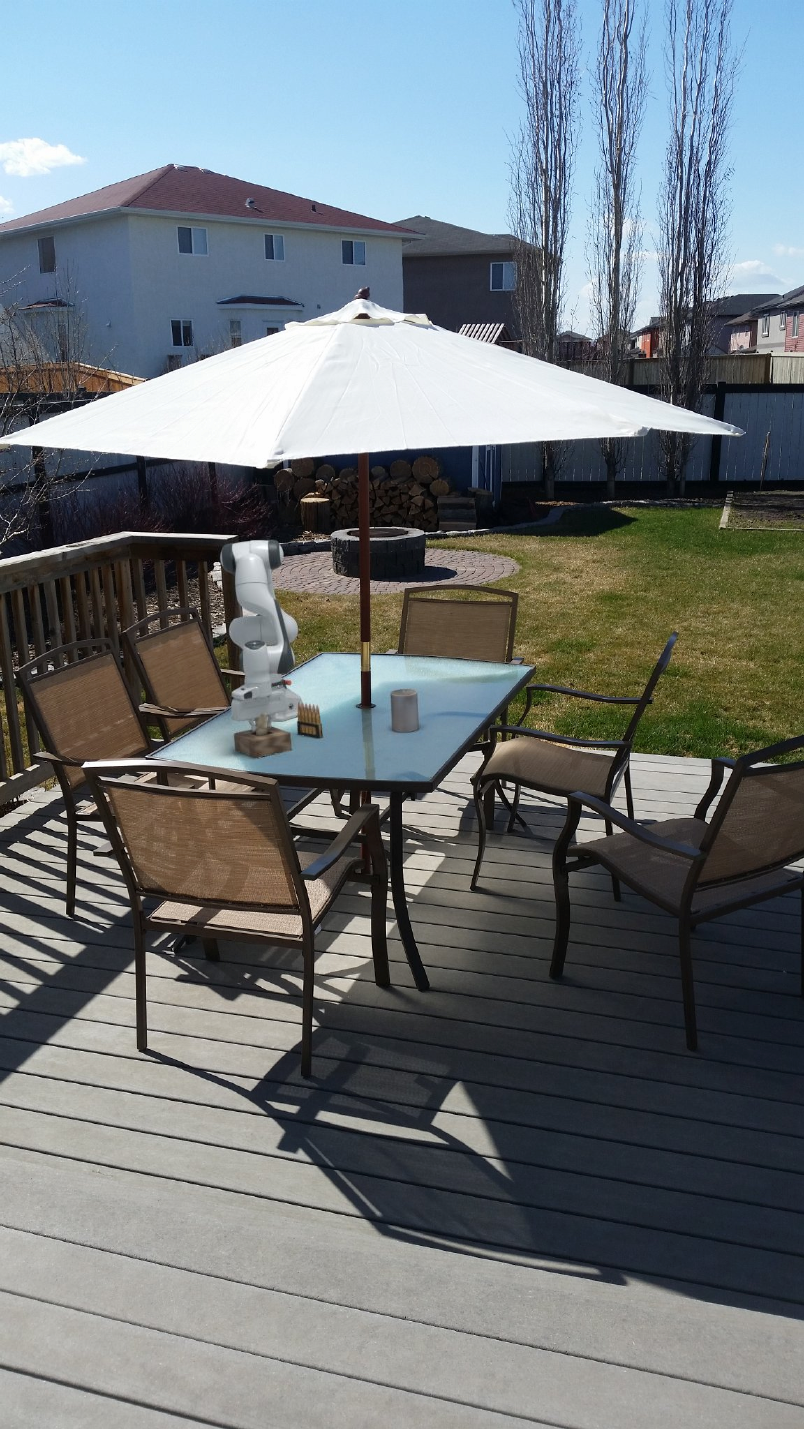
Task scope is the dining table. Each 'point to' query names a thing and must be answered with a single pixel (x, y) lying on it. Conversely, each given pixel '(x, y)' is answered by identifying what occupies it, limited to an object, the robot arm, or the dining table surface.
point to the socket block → (262, 742)
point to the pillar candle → (404, 710)
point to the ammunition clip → (309, 721)
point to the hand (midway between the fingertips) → (261, 728)
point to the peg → (261, 725)
